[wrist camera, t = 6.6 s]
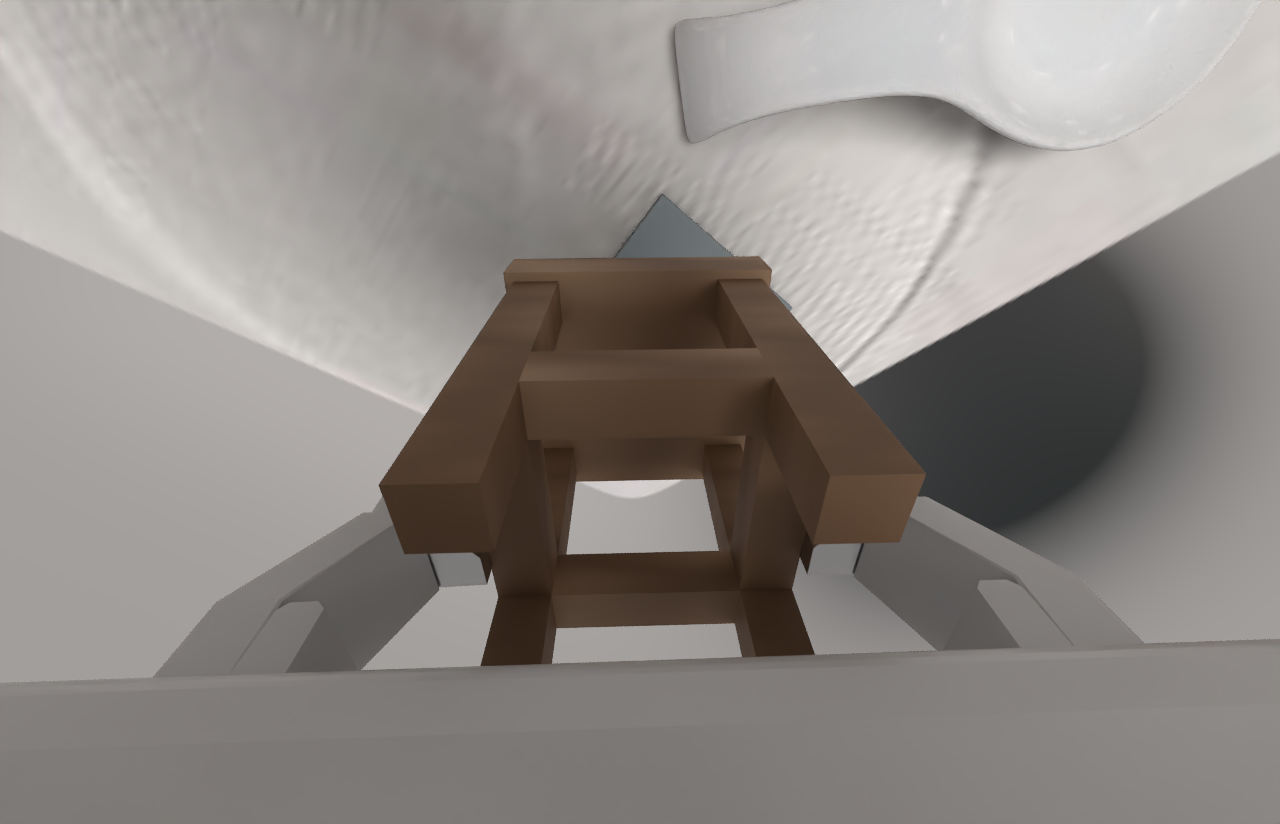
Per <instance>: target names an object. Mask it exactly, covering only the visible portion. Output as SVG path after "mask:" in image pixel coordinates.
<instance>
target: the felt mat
mask: <svg viewBox="0 0 1280 824" xmlns="http://www.w3.org/2000/svg"><path fill="white" fill-rule="evenodd" d="M658 257H734V256H733V255H732V254H731V253H729V252H728V251H727V250H726V249H725V248H724V247H723V246H721V245H720V244H719V243H718V242H717V241H716V240H715V239H713V238H712V237H711V236H710V235H709V234H708V233H707V232H705V231H704V230H703V229H702V228H701V227H700V226H699V225H697V224H696V223H695V222H694V221H693V220H692V219H691V218H689V217H688V216H687V215H686V214H685V213H684V212H683V211H681V210H680V209H679V208H678V207H677V206H676V205H674V204H673V203H672V202H671V201H670V200H669V199H668V198H666V197H665V196H664V195H663V194H662V195H661V196H660V198H659V199H658V200H657V202H656V203H655V204H654V206H653V207H652V208H651V210H650V211H649V212H648V214H647V215H646V216H645V218H644V219H643V220H642V222H641V223H640V224H639V226H638V227H637V228H636V230H635V231H634V232H633V234H632V235H631V236H630V238H629V239H628V241H627V242H626V243H625V245H624V246H623V247H622V249H621V250H620V251H619V253H618V254H617V255H616V257H615V258H658ZM769 288H770V287H769ZM770 289H771V288H770ZM771 290H772V289H771ZM772 291H773V290H772ZM773 292H774V291H773ZM774 294H775V295H776V296H777V297H778V298H779V300H780V301H781V302H782V303H783V304H784V305H785V307H786V308H787V309H788V310H789V311H790V310H791V309H792V307H791V306H790V305H789V304H788V303H787V302H786V301H784V300H783V299H782V298H781V297H780V296H779V295H778V294H776V293H775V292H774Z"/></svg>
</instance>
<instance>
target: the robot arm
mask: <svg viewBox="0 0 1280 824" xmlns="http://www.w3.org/2000/svg"><path fill="white" fill-rule="evenodd" d="M800 557H801V560H802V563H803V565H804V567H805V570H806V572H807V574H854V577H855V578H856V579H857V580H858V581H859V582H860V583H862V584H863V585H864V586H865V587H866V588H867V589H868V590H870V591H871V592H872V593H873V594H874V595H875V596H876V597H877V598H879V599H880V600H881V601H882V602H883V603H884V604H885V605H886V606H888V607H889V608H890V609H891V610H892V611H893V612H894V613H895V614H897V615H898V616H899V617H900V618H901V619H902V620H903V621H905V622H906V623H907V624H908V625H909V626H910V627H912V629H914V630H915V631H916V632H917V633H918V634H919V635H920V636H922V637H923V638H924V639H925V640H926V641H927V642H928V643H929V644H931V645H932V646H933V647H934V648H935V649H936V650H937V651H913V652H912V651H909V652H882V653H851V654H823V655H793V656H764V657H736V658H707V659H679V660H678V659H677V660H648V661H619V662H592V663H591V662H589V663H560V664H531V665H502V666H474V667H445V668H416V669H387V670H361V669H362V668H363V667H364V666H365V665H366V664H367V663H368V662H369V661H370V660H371V659H372V658H373V657H374V656H375V655H376V654H377V653H378V652H379V651H380V650H381V649H382V648H383V647H384V646H385V645H386V644H387V643H388V642H389V641H390V640H391V639H392V638H393V636H394V635H396V634H397V633H398V632H399V630H400V629H401V628H402V627H403V626H404V625H405V624H406V623H407V622H408V621H409V620H410V619H411V618H412V617H413V616H414V615H415V614H416V613H417V612H418V611H419V610H420V609H421V608H422V607H423V606H424V605H425V604H426V603H427V602H428V601H429V600H430V599H431V598H432V597H433V596H434V595H435V594H436V593H437V592H438V591H439V587H451V586H469V585H486V584H487V582H488V579H489V576H490V572H491V569H492V562H491V558H490V554H489V552H479V553H437V554H404V552H403V549H402V547H401V544H400V541H399V539H398V536H397V533H396V530H395V528H394V525H393V522H392V520H391V517H390V514H389V512H388V509H387V506H386V503H385V501H384V498H383V496H382V498H381V499H380V501H379V502H378V504H377V505H376V507H375V509H374V510H373V512H369V513H362V514H360V515H359V516H357V517H355V518H354V519H352V520H351V521H349V522H347V523H346V524H344V525H342V526H341V527H339V528H337V529H336V530H334V531H332V532H331V533H329V534H327V535H326V536H324V537H323V538H321V539H319V540H318V541H316V542H314V543H313V544H311V545H310V546H308V547H306V548H304V549H303V550H301V551H299V552H298V553H296V554H295V555H293V556H291V557H290V558H288V559H286V560H285V561H283V562H281V563H280V564H278V565H276V566H275V567H273V568H272V569H270V570H268V571H266V572H265V573H263V574H262V575H260V576H258V577H257V578H255V579H254V580H252V581H250V582H249V583H247V584H245V585H244V586H242V587H240V588H239V589H237V590H235V591H234V592H232V593H231V594H229V595H227V596H225V597H224V598H222V599H220V600H219V601H217V602H216V603H215V604H214V605H213V606H212V608H211V609H210V610H209V611H208V612H207V614H206V615H205V616H204V617H203V618H202V619H201V621H200V622H199V623H198V624H197V625H196V627H195V628H194V629H193V630H192V631H191V633H190V634H189V635H188V636H187V637H186V639H185V640H184V641H183V642H182V643H181V644H180V646H179V647H178V648H177V649H176V650H175V651H174V653H173V654H172V655H171V656H170V657H169V659H168V660H167V661H166V662H165V663H164V665H163V666H162V667H161V668H160V669H159V671H158V672H157V673H156V674H155V675H154V676H153V678H126V679H99V680H70V681H41V682H11V683H0V824H1280V639H1262V640H1234V641H1233V640H1232V641H1205V642H1204V641H1203V642H1174V643H1146V644H1145V643H1144V642H1143V641H1142V640H1141V639H1140V638H1139V637H1138V636H1137V635H1136V634H1135V633H1134V632H1133V631H1132V630H1131V629H1130V628H1129V627H1128V626H1127V625H1126V624H1125V623H1124V622H1123V621H1122V620H1121V619H1120V618H1119V617H1118V616H1117V615H1116V614H1115V613H1114V612H1113V611H1112V610H1111V609H1110V608H1109V607H1108V606H1107V605H1106V604H1105V603H1104V602H1103V601H1102V600H1101V599H1100V598H1099V597H1098V596H1097V595H1096V594H1095V593H1094V592H1093V591H1092V590H1091V589H1090V587H1089V586H1087V584H1086V583H1085V582H1083V580H1082V579H1081V578H1080V577H1079V576H1077V575H1075V574H1073V573H1071V572H1069V571H1068V570H1066V569H1064V568H1062V567H1060V566H1058V565H1056V564H1054V563H1052V562H1051V561H1048V560H1047V559H1045V558H1043V557H1041V556H1039V555H1037V554H1035V553H1033V552H1031V551H1029V550H1028V549H1026V548H1023V547H1022V546H1020V545H1018V544H1016V543H1014V542H1012V541H1010V540H1008V539H1006V538H1005V537H1002V536H1001V535H999V534H997V533H995V532H993V531H991V530H989V529H987V528H985V527H983V526H981V525H980V524H978V523H976V522H974V521H972V520H970V519H968V518H966V517H964V516H962V515H960V514H958V513H956V512H954V511H953V510H950V509H949V508H947V507H945V506H943V505H941V504H939V503H937V502H935V501H933V500H932V499H930V498H928V497H918V496H917V499H916V501H915V504H914V506H913V509H912V511H911V514H910V517H909V519H908V522H907V524H906V527H905V529H904V532H903V534H902V537H901V540H900V542H897V543H855V544H814V545H813V544H812V542H811V540H810V537H809V535H808V533H807V531H806V533H805V537H804V542H803V546H802V550H801V554H800Z"/></svg>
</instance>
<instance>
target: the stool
mask: <svg viewBox="0 0 1280 824" xmlns="http://www.w3.org/2000/svg"><path fill="white" fill-rule="evenodd" d="M771 273H772V269H771V268H770V267H769V266H768V265H767V264H766V263H765V262H764V261H763V260H762V259H761V258H760V257H759V256H751V257H658V258H565V259H514V260H513V261H512V262H511V264H510V265H509V266H508V267H507V269H506V270H505V271H504V280H505V287H506V294H505V296H504V297H503V299H502V300H501V302H500V303H499V305H498V306H497V308H496V309H495V311H494V312H493V314H492V315H491V317H490V318H489V320H488V321H487V323H486V324H485V326H484V327H483V329H482V330H481V332H480V333H479V335H478V336H477V338H476V339H475V341H474V342H473V344H472V345H471V347H470V348H469V350H468V351H467V353H466V354H465V356H464V357H463V359H462V360H461V362H460V363H459V365H458V366H457V368H456V369H455V371H454V372H453V374H452V375H451V377H450V378H449V380H448V381H447V383H446V384H445V386H444V387H443V389H442V390H441V392H440V393H439V395H438V396H437V398H436V400H435V401H434V403H433V404H432V406H431V407H430V409H429V410H428V412H427V413H426V415H425V416H424V418H423V419H422V421H421V422H420V424H419V425H418V427H417V428H416V430H415V431H414V433H413V434H412V436H411V437H410V439H409V440H408V442H407V443H406V445H405V446H404V448H403V449H402V451H401V452H400V454H399V455H398V457H397V458H396V460H395V461H394V463H393V464H392V466H391V468H390V469H389V470H388V472H387V473H386V475H385V476H384V478H383V479H382V481H381V482H380V484H379V487H380V490H381V493H382V495H383V498H384V501H385V503H386V506H387V509H388V512H389V514H390V517H391V520H392V522H393V525H394V528H395V530H396V533H397V536H398V539H399V541H400V544H401V547H402V549H403V552H404V554H437V553H479V552H489V554H490V558H491V562H492V572H493V576H494V580H495V584H496V589H497V592H498V601H497V605H496V609H495V612H494V616H493V620H492V624H491V628H490V632H489V636H488V639H487V644H486V647H485V651H484V655H483V659H482V662H481V666H502V665H531V664H552V658H553V650H554V643H555V635H556V628H578V627H616V626H651V625H689V624H723V623H725V624H726V623H735V626H736V631H737V635H738V640H739V644H740V649H741V654H742V657H764V656H793V655H815V654H814V651H813V648H812V645H811V642H810V639H809V636H808V634H807V631H806V628H805V625H804V623H803V620H802V617H801V614H800V611H799V608H798V605H797V603H796V600H795V597H794V594H793V591H792V587H793V583H794V578H795V574H796V570H797V566H798V562H799V558H800V554H801V550H802V546H803V542H804V537H805V533H806V531H807V533H808V535H809V537H810V540H811V542H812V544H813V545H814V544H855V543H897V542H900V540H901V537H902V534H903V532H904V529H905V527H906V524H907V522H908V519H909V517H910V514H911V511H912V509H913V506H914V504H915V501H916V499H917V496H918V493H919V491H920V488H921V486H922V483H923V481H924V478H925V476H926V473H925V472H924V471H923V469H922V468H921V467H920V466H919V465H918V463H917V462H916V461H915V460H914V459H913V458H912V456H911V455H910V454H909V453H908V452H907V450H906V449H905V448H904V447H903V446H902V444H900V442H899V441H898V440H897V438H896V437H895V436H894V435H893V434H892V433H891V432H890V430H889V429H888V428H887V427H886V425H885V424H884V423H883V422H882V421H881V420H880V418H879V417H878V416H877V415H876V414H875V412H874V411H873V410H872V409H871V408H870V406H869V405H868V404H867V403H866V402H865V400H864V399H863V398H862V397H861V396H860V395H859V394H858V392H857V391H856V390H855V389H854V387H853V386H852V385H851V384H850V383H849V381H848V380H847V379H846V378H845V377H844V376H843V374H842V373H841V372H840V371H839V370H838V368H837V367H836V366H835V365H834V364H833V362H832V361H831V360H830V359H829V358H828V357H827V355H826V354H825V353H824V352H823V351H822V349H821V348H820V347H819V346H818V345H817V343H816V342H815V341H814V340H813V339H812V338H811V336H810V335H809V334H808V333H807V332H806V330H805V329H804V328H803V327H802V326H801V324H800V323H799V322H798V321H797V320H796V319H795V317H794V316H793V315H792V314H791V313H790V311H789V310H788V309H787V308H786V307H785V305H784V304H783V303H782V302H781V301H780V300H779V298H778V297H777V296H776V295H775V294H774V292H773V291H772V290H771V289H770V288H769V287H770V280H771ZM674 479H704V484H705V488H706V493H707V498H708V502H709V507H710V511H711V516H712V520H713V525H714V530H715V534H716V539H717V543H718V548H719V551H697V552H696V551H695V552H654V553H612V554H571V555H566V552H567V544H568V537H569V529H570V522H571V514H572V506H573V499H574V491H575V484H576V482H578V481H626V480H674Z"/></svg>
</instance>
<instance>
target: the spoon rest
mask: <svg viewBox="0 0 1280 824" xmlns="http://www.w3.org/2000/svg"><path fill="white" fill-rule="evenodd" d="M1260 1H1261V0H794V1H791V2H787V3H783V4H779V5H776V6H773V7H769V8H765V9H761V10H756V11H751V12H746V13H740V14H735V15H730V16H724V17H717V18H697V19H688V20H683V21H681V22H679V23H678V24H677V25H676V27H675V47H676V57H677V65H678V73H679V82H680V90H681V98H682V105H683V112H684V120H685V126H686V131H687V136H688V139H689V141H690V142H692V143H698V142H700V141H703V140H705V139H708V138H710V137H712V136H714V135H715V134H717V133H719V132H721V131H724V130H726V129H728V128H731V127H733V126H736V125H739V124H742V123H745V122H748V121H751V120H754V119H757V118H761V117H764V116H768V115H772V114H776V113H781V112H785V111H789V110H795V109H800V108H806V107H812V106H817V105H823V104H828V103H833V102H841V101H850V100H858V99H865V98H873V97H886V96H923V97H931V98H935V99H939V100H942V101H945V102H948V103H950V104H952V105H954V106H956V107H958V108H960V109H961V110H963V111H965V112H966V113H968V114H969V115H970V116H972V117H973V118H975V119H976V120H978V121H979V122H981V123H982V124H984V125H985V126H987V127H989V128H990V129H992V130H994V131H996V132H998V133H999V134H1001V135H1003V136H1005V137H1007V138H1009V139H1011V140H1014V141H1016V142H1019V143H1021V144H1024V145H1028V146H1031V147H1034V148H1040V149H1046V150H1055V151H1071V150H1082V149H1087V148H1092V147H1097V146H1101V145H1104V144H1107V143H1110V142H1113V141H1116V140H1118V139H1120V138H1122V137H1124V136H1127V135H1129V134H1131V133H1132V132H1134V131H1136V130H1138V129H1140V128H1142V127H1144V126H1145V125H1147V124H1148V123H1150V122H1152V121H1153V120H1155V119H1156V118H1158V117H1159V116H1161V115H1162V114H1163V113H1165V112H1166V111H1168V110H1169V109H1170V108H1172V107H1173V106H1174V105H1175V104H1177V103H1178V102H1179V101H1180V100H1181V99H1182V98H1183V97H1184V96H1185V95H1187V94H1188V93H1189V92H1190V91H1191V90H1192V89H1193V88H1194V87H1195V86H1196V85H1198V84H1199V83H1200V82H1201V81H1202V80H1203V79H1204V78H1205V77H1206V76H1207V75H1208V74H1209V72H1210V71H1211V70H1212V69H1213V68H1214V67H1215V65H1216V64H1217V63H1218V62H1219V61H1220V59H1221V58H1222V57H1223V56H1224V55H1225V53H1226V52H1227V51H1228V50H1229V48H1230V47H1231V46H1232V44H1233V43H1234V42H1235V40H1236V39H1237V37H1238V36H1239V35H1240V33H1241V32H1242V30H1243V28H1244V27H1245V25H1246V24H1247V22H1248V21H1249V19H1250V17H1251V16H1252V14H1253V12H1254V11H1255V9H1256V8H1257V6H1258V4H1259V3H1260Z"/></svg>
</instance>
